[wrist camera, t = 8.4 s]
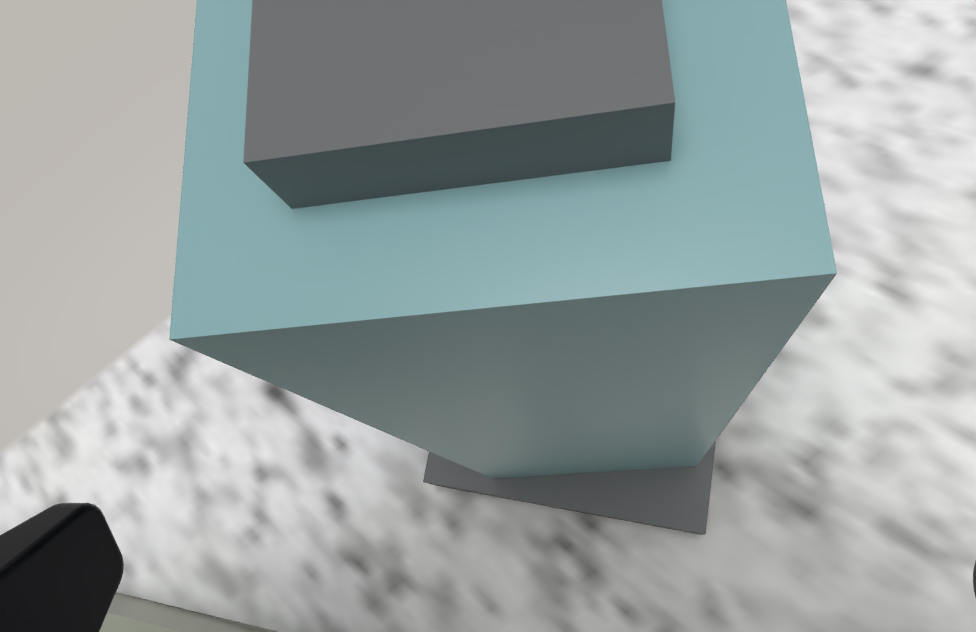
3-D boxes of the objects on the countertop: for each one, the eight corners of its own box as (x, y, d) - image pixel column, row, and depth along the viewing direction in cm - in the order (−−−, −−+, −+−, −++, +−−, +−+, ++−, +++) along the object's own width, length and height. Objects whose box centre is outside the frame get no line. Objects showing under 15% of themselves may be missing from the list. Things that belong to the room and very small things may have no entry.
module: (696, 466, 18) (871, 226, 4) (492, 478, 19) (101, 311, 5) (673, 270, 20) (748, -367, 6) (484, 290, 21) (160, -230, 7)
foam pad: (701, 534, 19) (705, 533, 18) (435, 485, 21) (423, 481, 20) (730, 271, 21) (735, 255, 20) (482, 244, 22) (474, 228, 21)
